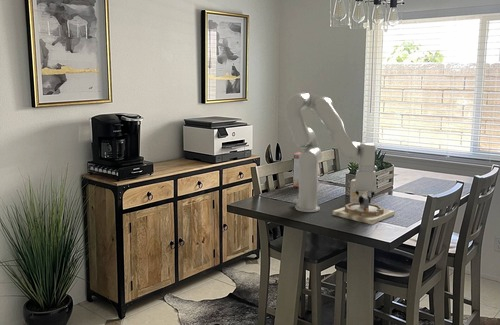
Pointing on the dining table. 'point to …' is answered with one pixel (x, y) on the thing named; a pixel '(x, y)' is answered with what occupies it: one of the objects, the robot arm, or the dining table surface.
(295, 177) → the cracker box
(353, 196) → the supplement box
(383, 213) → the dial housing
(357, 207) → the dial
